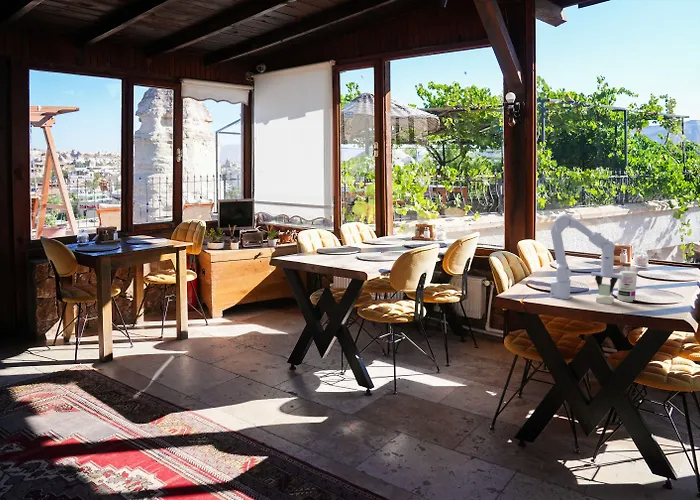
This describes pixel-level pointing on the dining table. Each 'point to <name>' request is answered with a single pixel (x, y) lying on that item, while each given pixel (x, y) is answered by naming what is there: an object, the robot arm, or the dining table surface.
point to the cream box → (605, 299)
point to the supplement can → (627, 286)
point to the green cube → (604, 290)
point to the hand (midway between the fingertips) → (605, 291)
